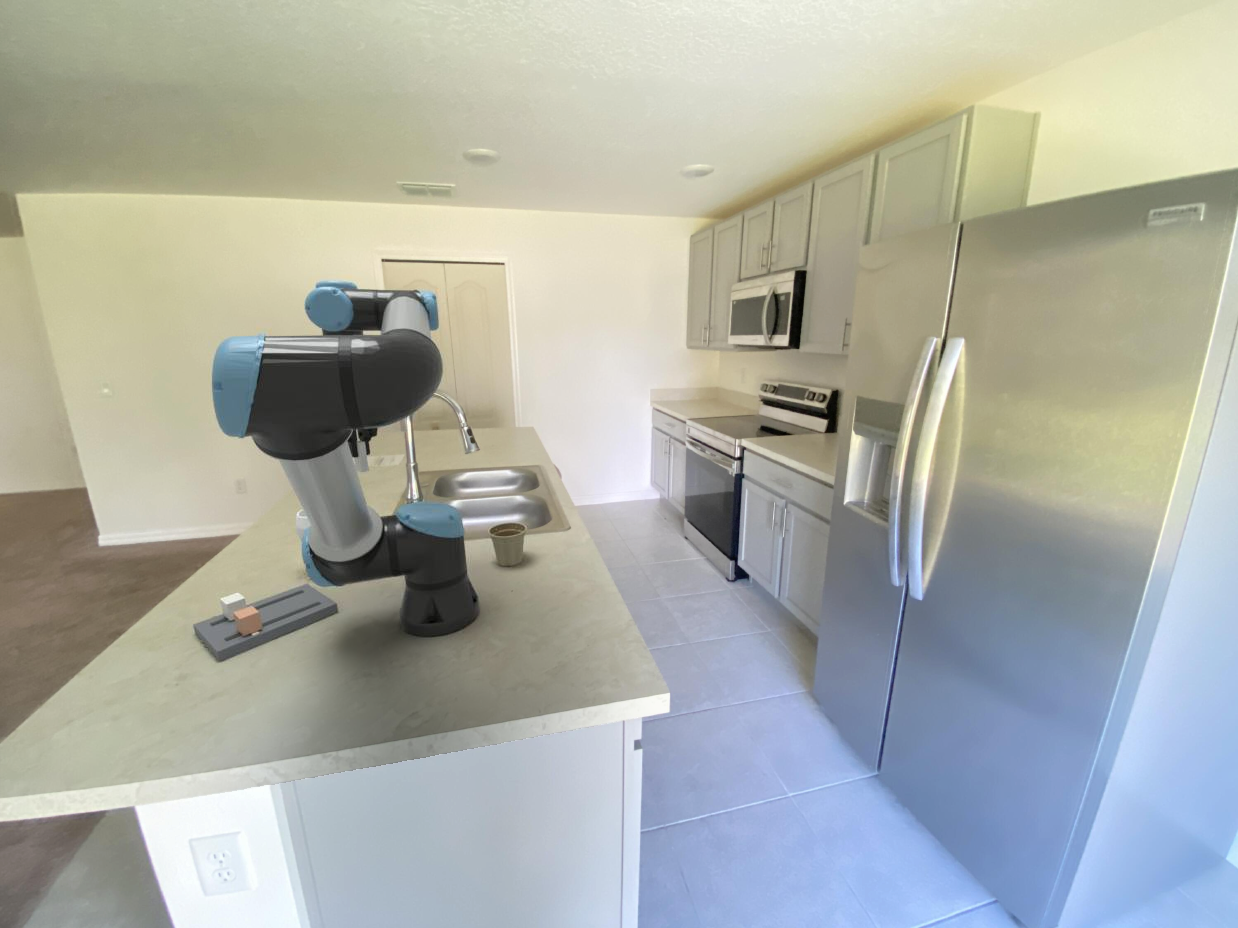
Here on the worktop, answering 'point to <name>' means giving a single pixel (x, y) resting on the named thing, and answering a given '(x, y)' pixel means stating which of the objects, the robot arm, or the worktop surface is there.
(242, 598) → the block
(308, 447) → the robot arm
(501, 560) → the flower pot
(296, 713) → the worktop surface
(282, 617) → the console
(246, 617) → the fader front
